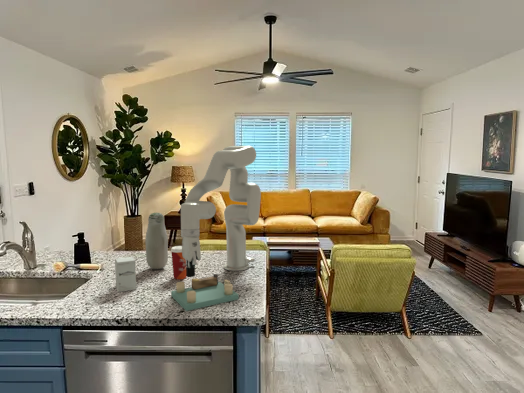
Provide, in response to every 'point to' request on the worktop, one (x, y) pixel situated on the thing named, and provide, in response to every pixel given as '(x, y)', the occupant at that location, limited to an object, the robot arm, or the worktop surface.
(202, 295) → the stool seat
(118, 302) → the worktop surface
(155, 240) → the grey ceramic bottle
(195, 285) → the folding leg
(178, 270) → the paper cup
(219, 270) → the worktop surface
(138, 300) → the worktop surface
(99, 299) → the worktop surface
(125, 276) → the supplement box
